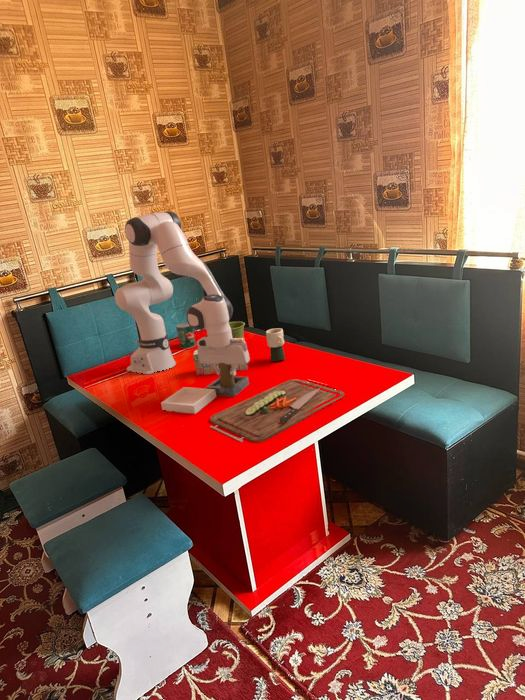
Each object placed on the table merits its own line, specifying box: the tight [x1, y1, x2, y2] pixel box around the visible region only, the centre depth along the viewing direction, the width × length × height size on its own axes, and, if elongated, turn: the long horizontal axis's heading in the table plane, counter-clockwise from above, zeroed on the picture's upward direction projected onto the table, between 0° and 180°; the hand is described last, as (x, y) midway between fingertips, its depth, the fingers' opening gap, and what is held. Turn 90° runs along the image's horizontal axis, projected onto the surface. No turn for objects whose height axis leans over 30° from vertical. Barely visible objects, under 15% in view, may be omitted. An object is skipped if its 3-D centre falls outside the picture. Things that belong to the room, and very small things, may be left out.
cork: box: [218, 363, 235, 387], centre depth 188 cm, size 6×6×11 cm
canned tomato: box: [175, 322, 197, 350], centre depth 250 cm, size 8×8×11 cm
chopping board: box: [209, 378, 345, 443], centre depth 169 cm, size 45×27×3 cm, turn 131°
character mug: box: [265, 327, 286, 362], centre depth 212 cm, size 11×7×13 cm, turn 27°
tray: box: [160, 386, 217, 415], centre depth 182 cm, size 14×14×3 cm
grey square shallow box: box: [205, 375, 250, 398], centre depth 190 cm, size 12×12×3 cm
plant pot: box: [229, 321, 246, 339], centre depth 236 cm, size 12×12×11 cm
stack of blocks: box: [192, 337, 249, 376], centre depth 210 cm, size 21×6×12 cm, turn 90°
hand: (226, 374), depth 188 cm, fingers open, 4 cm apart
